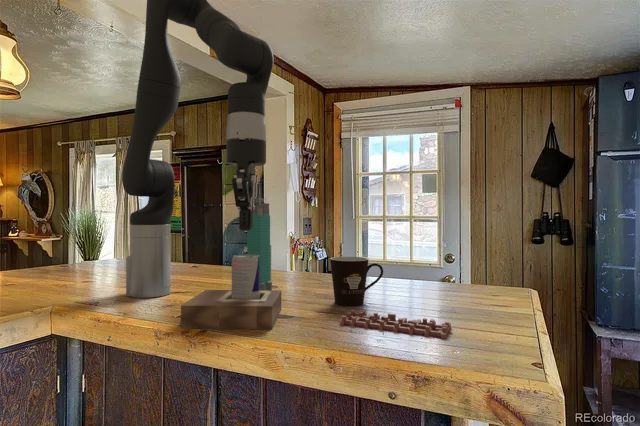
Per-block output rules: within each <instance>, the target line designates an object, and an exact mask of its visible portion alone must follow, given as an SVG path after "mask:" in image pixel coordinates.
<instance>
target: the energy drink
mask: <svg viewBox="0 0 640 426" xmlns="http://www.w3.org/2000/svg"><path fill="white" fill-rule="evenodd" d="M231 290H232V299H233V300H260V259H259V255H248V254H247V253H246V254H235V255H232V258H231Z"/></svg>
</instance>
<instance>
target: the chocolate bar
mask: <svg viewBox="0 0 640 426" xmlns="http://www.w3.org/2000/svg"><path fill="white" fill-rule="evenodd" d="M396 317H397V314H396V313H391V312H390V313H388V314H387V316H385V315H384V316H383V315H382V316H381V314H378V312H373V313H372V314H367V312H366V310H361V311H360V312H357V311H356V310H354V309H351V310H350V312H347V313H346V315H342V316H341V320H340V321H339V326H344V327H350V326H353V327H352V328H358V327H359V328H360V329H365V328H366V330H375V331H381V332H387V331H388V333H389V332H390V333H397V334H403V335H411V336H418V337H427V338H434V339H439V340H440V339H442V340H446V338H447V336H448V335H452V334H453V332H452V331H451V328H452V323H451V322H448V321H445V322H443V323H442V324H437V321H436V320H435V319H433V318H430V320H429V321H428V318H422V319H412V320H410V319H409V320H408V318H407V317H401V318H400V317H399V318H398V319H397V318H396ZM359 328H358V329H359ZM450 331H451V332H450Z"/></svg>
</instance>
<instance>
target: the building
mask: <svg viewBox="0 0 640 426" xmlns="http://www.w3.org/2000/svg"><path fill="white" fill-rule="evenodd" d="M258 180H261V173H259V174H258ZM258 192H259V193H258V199H257V201H256V207H255V209H254V210H252V211H253V229H252V230H246V234H247V235H246V236H247V237H246V239H247V241H246V243H247V244H246V245H247V246H246V255H247V254H248V255H259V259H260V290H273V281H272V244H271V215H270V203H267V202H265V199H264V198H262V195H261V186H259V187H258Z"/></svg>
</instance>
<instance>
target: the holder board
mask: <svg viewBox="0 0 640 426" xmlns="http://www.w3.org/2000/svg"><path fill="white" fill-rule="evenodd" d="M281 311H282V290H280V289H278V290H276V289H275V290H273V289H272V290H260V300H233V299H232V289H205V290H202V292H200V293H198V294H197V295H195V296H194V297H192V298H191V299H189V300H187V301H186V302H184V303H182V304H181V305H180V329H211V330H212V329H214V330H215V329H216V330H217V329H218V330H219V329H222V330H230V329H231V330H273V328H274V325H275V324H276V322H277V320H278V318H279V315H280V313H281Z"/></svg>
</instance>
